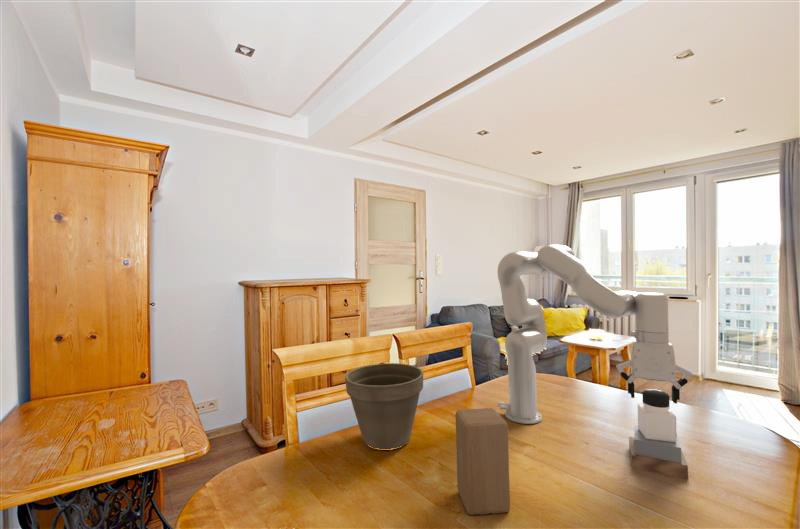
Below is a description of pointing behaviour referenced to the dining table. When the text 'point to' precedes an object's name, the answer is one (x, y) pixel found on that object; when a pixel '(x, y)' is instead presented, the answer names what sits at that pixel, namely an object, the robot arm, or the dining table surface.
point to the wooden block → (482, 461)
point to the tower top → (657, 448)
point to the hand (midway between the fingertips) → (653, 399)
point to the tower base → (657, 463)
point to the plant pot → (385, 402)
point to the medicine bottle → (656, 416)
